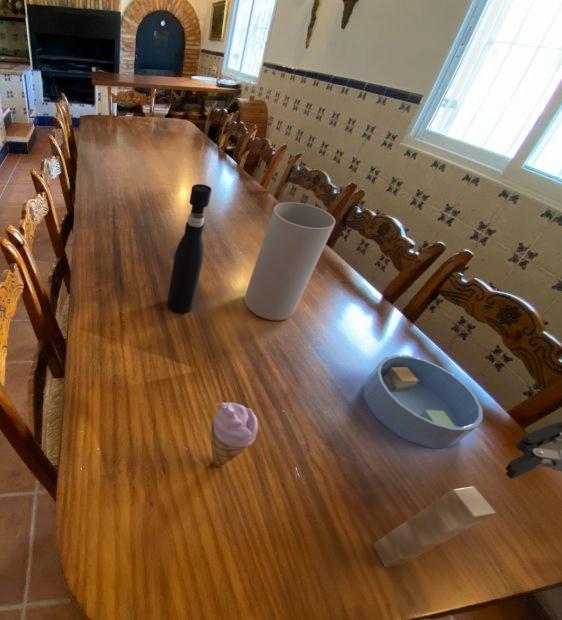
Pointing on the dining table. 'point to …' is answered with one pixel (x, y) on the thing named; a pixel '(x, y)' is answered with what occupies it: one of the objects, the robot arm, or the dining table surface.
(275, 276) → the cylinder vase
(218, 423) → the ice cream cone
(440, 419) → the sage block
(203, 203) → the black bottle
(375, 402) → the bowl
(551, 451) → the robot arm
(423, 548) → the brown wooden bar
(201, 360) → the dining table surface
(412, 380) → the maple block
